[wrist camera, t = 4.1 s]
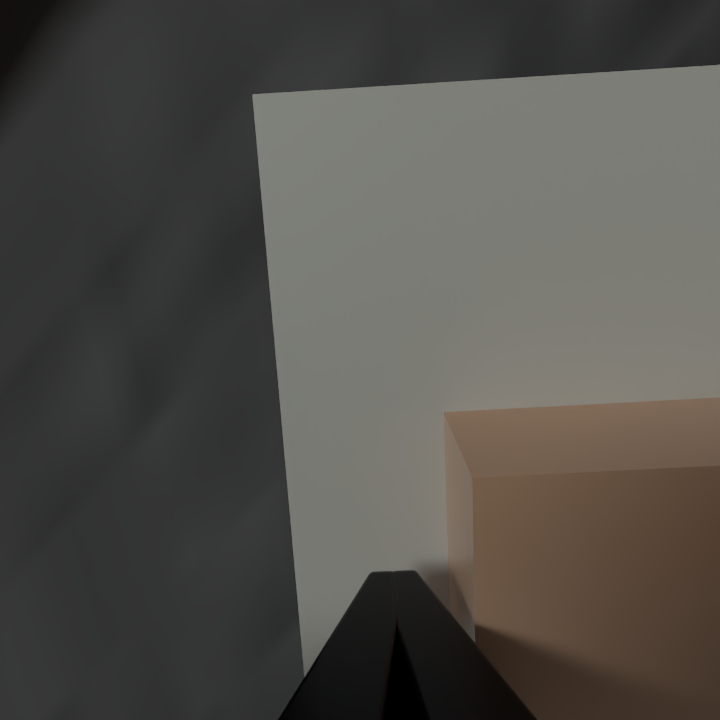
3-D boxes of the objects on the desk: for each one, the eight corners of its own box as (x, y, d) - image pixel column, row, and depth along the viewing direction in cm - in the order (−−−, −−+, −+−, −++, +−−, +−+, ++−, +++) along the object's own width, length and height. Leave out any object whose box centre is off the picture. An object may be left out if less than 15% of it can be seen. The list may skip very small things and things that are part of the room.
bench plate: (694, 739, 14) (782, 873, 11) (332, 743, 14) (322, 875, 11) (773, 108, 10) (938, 50, 7) (286, 137, 10) (252, 94, 7)
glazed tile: (736, 665, 10) (861, 808, 7) (450, 675, 10) (477, 818, 7) (770, 394, 8) (934, 455, 6) (443, 411, 9) (472, 477, 6)
